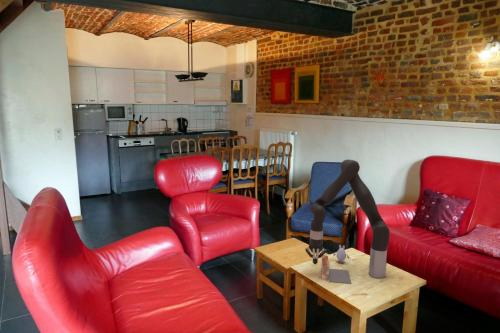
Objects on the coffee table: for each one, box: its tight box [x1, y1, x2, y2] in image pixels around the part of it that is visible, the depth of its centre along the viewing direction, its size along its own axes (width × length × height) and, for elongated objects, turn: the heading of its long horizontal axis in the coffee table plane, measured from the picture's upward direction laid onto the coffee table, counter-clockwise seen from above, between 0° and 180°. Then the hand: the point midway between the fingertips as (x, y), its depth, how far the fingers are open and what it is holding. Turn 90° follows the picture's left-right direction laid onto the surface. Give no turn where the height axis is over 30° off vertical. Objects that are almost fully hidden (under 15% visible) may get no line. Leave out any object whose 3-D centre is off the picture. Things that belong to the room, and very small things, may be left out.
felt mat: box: [328, 268, 352, 285], centre depth 216 cm, size 13×16×1 cm
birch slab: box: [320, 254, 330, 281], centre depth 216 cm, size 4×12×10 cm, turn 172°
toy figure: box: [332, 244, 350, 264], centre depth 232 cm, size 11×6×12 cm, turn 65°
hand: (315, 263), depth 216 cm, fingers closed
